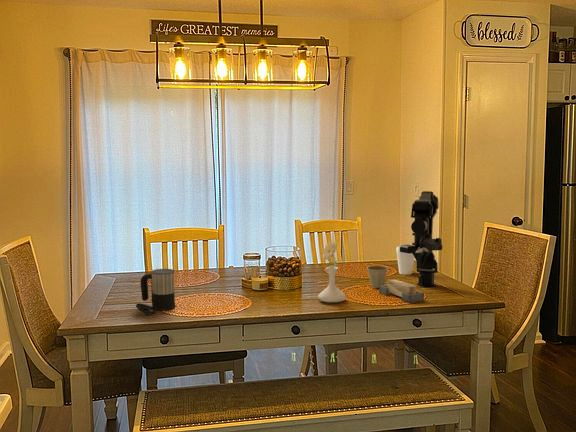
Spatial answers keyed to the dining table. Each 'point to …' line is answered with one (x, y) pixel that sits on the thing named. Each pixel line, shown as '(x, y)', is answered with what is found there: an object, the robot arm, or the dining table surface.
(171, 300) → the milk frother
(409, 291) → the beige rectangular block
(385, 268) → the flower pot
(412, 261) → the foam cup
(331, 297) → the flower in vase
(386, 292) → the end caps
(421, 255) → the robot arm
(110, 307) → the dining table surface
